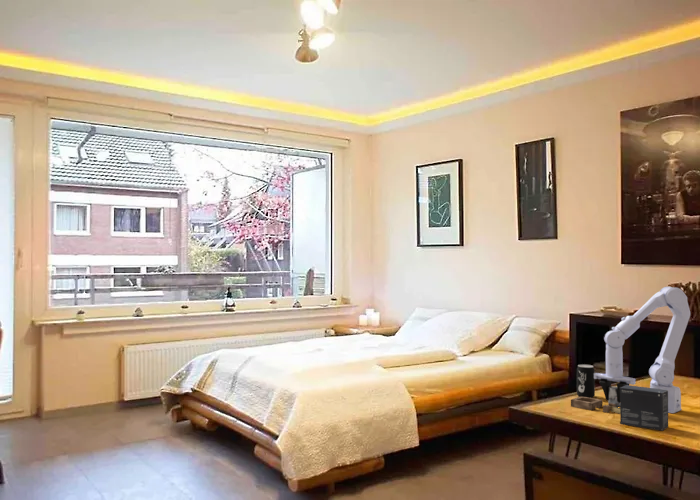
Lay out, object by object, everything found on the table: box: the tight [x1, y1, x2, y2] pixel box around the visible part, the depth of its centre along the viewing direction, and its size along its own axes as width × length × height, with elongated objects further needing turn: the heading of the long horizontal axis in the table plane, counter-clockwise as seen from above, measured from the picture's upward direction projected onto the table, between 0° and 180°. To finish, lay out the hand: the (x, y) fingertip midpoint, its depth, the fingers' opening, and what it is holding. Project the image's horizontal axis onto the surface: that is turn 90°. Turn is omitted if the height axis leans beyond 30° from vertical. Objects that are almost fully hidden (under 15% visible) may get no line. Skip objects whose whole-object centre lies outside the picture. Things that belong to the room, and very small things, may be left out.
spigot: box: [607, 385, 620, 407], centre depth 223 cm, size 4×4×7 cm
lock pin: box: [610, 406, 620, 414], centre depth 213 cm, size 9×2×4 cm, turn 42°
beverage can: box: [576, 364, 596, 398], centre depth 239 cm, size 7×7×12 cm
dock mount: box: [570, 396, 615, 414], centre depth 220 cm, size 13×8×2 cm, turn 42°
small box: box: [619, 384, 669, 432], centre depth 197 cm, size 13×7×12 cm, turn 48°
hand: (614, 401), depth 223 cm, fingers closed on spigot, 4 cm apart
